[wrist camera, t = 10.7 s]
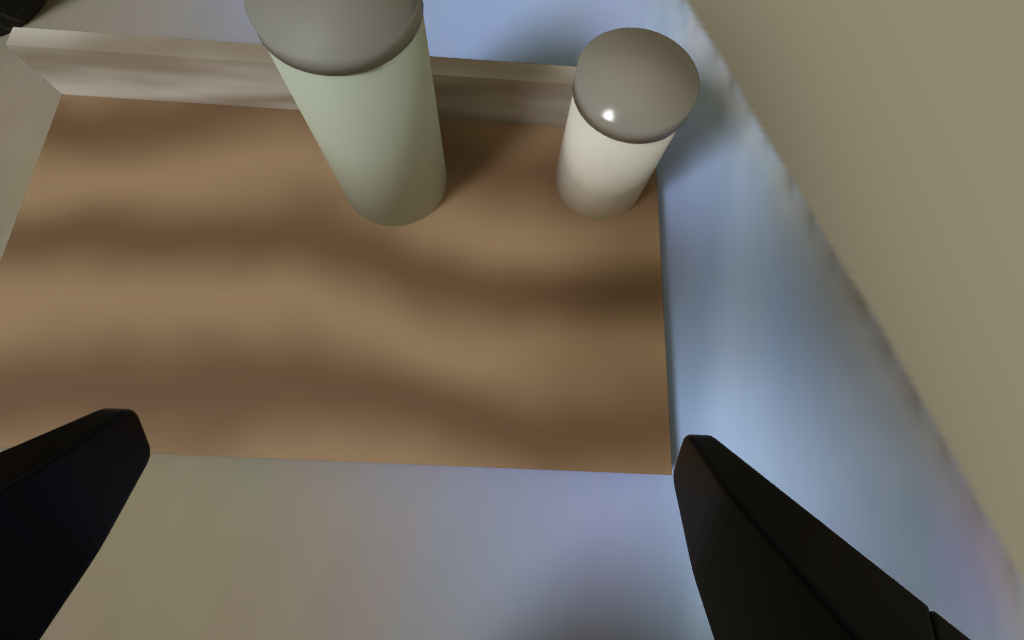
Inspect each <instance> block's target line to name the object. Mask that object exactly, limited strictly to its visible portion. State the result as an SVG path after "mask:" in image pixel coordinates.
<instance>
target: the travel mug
mask: <svg viewBox="0 0 1024 640" xmlns="http://www.w3.org/2000/svg"><path fill="white" fill-rule="evenodd" d="M44 2H45V0H0V36H1V35H4V34H6V33H8V32H10V31H12V28H13V27H20V26H21V25H23V24H24V23H26V22H27V21H28V20H29V19H31V18H32V17H33V16H34V15H35V14H36V13H37V12H38V11H39V10H40V8H41V7H42V5H43V4H44Z"/></svg>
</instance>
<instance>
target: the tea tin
mask: <svg viewBox="0 0 1024 640" xmlns="http://www.w3.org/2000/svg"><path fill="white" fill-rule="evenodd" d="M244 5H245V10H246V13H247V15H248V18H249V20H250V22H251V24H252V25H253V27H254V29H255V31H256V33H257V35H258V37H259V38H260V40H261V42H262V43H263V45H264V46H265V47H266V48H267V50H268V52H269V54H270V55H271V57H272V59H273V61H274V63H275V65H276V67H277V68H278V70H279V72H280V74H281V76H282V78H283V80H284V82H285V83H286V85H287V87H288V89H289V91H290V93H291V95H292V97H293V98H294V100H295V102H296V104H297V106H298V108H299V110H300V111H301V113H302V115H303V117H304V119H305V121H306V123H307V125H308V126H309V128H310V130H311V132H312V134H313V136H314V138H315V139H316V141H317V143H318V145H319V147H320V149H321V151H322V153H323V154H324V156H325V158H326V160H327V162H328V164H329V166H330V168H331V169H332V171H333V173H334V175H335V177H336V179H337V181H338V182H339V184H340V186H341V188H342V190H343V192H344V194H345V196H346V197H347V199H348V201H349V203H350V204H351V206H352V207H353V209H354V210H355V211H356V212H357V213H358V214H359V215H361V216H362V217H363V218H365V219H367V220H369V221H371V222H373V223H376V224H380V225H384V226H403V225H408V224H412V223H414V222H417V221H419V220H421V219H423V218H425V217H426V216H428V215H429V214H430V213H431V212H433V211H434V210H435V209H436V207H437V206H438V205H439V204H440V202H441V201H442V199H443V197H444V194H445V191H446V187H447V172H446V166H445V159H444V152H443V145H442V138H441V132H440V125H439V118H438V111H437V105H436V98H435V91H434V84H433V77H432V71H431V64H430V57H429V50H428V44H427V37H426V30H425V23H424V16H423V0H244Z"/></svg>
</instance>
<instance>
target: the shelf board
mask: <svg viewBox="0 0 1024 640" xmlns="http://www.w3.org/2000/svg"><path fill="white" fill-rule="evenodd" d="M6 46H8V47H9V48H10V49H11V50H12V51H13V52H14V53H16V54H17V55H18V56H19V57H20V58H21V59H22V60H24V61H25V62H26V63H27V64H28V65H29V66H31V67H32V68H33V69H34V70H35V71H36V72H37V73H39V74H40V75H41V76H42V77H43V78H44V79H45V80H47V81H48V82H49V83H50V84H51V85H52V86H53V87H55V88H56V89H57V90H58V91H59V92H60V93H62V97H61V99H60V102H59V105H58V108H57V110H56V113H55V116H54V118H53V121H52V124H51V127H50V129H49V132H48V135H47V137H46V140H45V143H44V146H43V148H42V151H41V154H40V156H39V159H38V162H37V164H36V167H35V170H34V173H33V175H32V178H31V181H30V183H29V186H28V189H27V192H26V194H25V197H24V200H23V202H22V205H21V208H20V211H19V213H18V216H17V219H16V221H15V224H14V227H13V230H12V232H11V235H10V238H9V240H8V243H7V246H6V248H5V251H4V254H3V257H2V259H1V262H0V447H14V446H16V445H19V444H21V443H23V442H25V441H28V440H30V439H32V438H35V437H37V436H39V435H42V434H44V433H46V432H49V431H51V430H53V429H56V428H58V427H60V426H63V425H65V424H67V423H70V422H72V421H74V420H77V419H79V418H81V417H83V416H86V415H88V414H90V413H93V412H95V411H97V410H100V409H104V408H123V409H131V410H133V411H134V412H136V413H137V415H138V417H139V419H140V422H141V424H142V427H143V429H144V432H145V435H146V437H147V440H148V442H149V445H150V453H157V454H182V455H206V456H230V457H254V458H278V459H302V460H326V461H350V462H374V463H398V464H422V465H446V466H470V467H494V468H518V469H542V470H566V471H590V472H614V473H638V474H662V475H672V464H671V444H670V425H669V406H668V386H667V367H666V348H665V328H664V309H663V290H662V270H661V251H660V231H659V212H658V193H657V173H656V168H655V170H654V171H653V173H652V175H651V177H650V179H649V180H648V182H647V184H646V186H645V187H644V189H643V191H642V193H641V194H640V196H639V198H638V200H637V202H636V203H635V204H634V206H633V207H632V208H631V209H630V210H628V211H627V212H626V213H624V214H622V215H620V216H618V217H615V218H611V219H591V218H587V217H584V216H582V215H580V214H578V213H576V212H574V211H573V210H571V209H570V208H569V207H568V206H567V205H566V204H565V203H564V202H563V201H562V199H561V198H560V196H559V194H558V192H557V190H556V186H555V178H554V177H555V170H556V165H557V161H558V157H559V152H560V148H561V144H562V139H563V135H564V131H565V126H566V122H567V118H568V113H569V109H570V105H571V100H572V96H573V90H572V88H573V80H574V75H575V71H576V67H573V66H559V65H545V64H531V63H517V62H502V61H488V60H474V59H460V58H446V57H432V56H429V57H430V64H431V71H432V77H433V84H434V91H435V98H436V105H437V111H438V118H439V125H440V132H441V138H442V145H443V152H444V159H445V166H446V172H447V187H446V191H445V194H444V197H443V199H442V201H441V202H440V204H439V205H438V206H437V207H436V209H435V210H434V211H433V212H431V213H430V214H429V215H428V216H426V217H425V218H423V219H421V220H419V221H417V222H414V223H412V224H408V225H403V226H384V225H380V224H376V223H373V222H371V221H369V220H367V219H365V218H363V217H362V216H361V215H359V214H358V213H357V212H356V211H355V210H354V209H353V207H352V206H351V204H350V203H349V201H348V199H347V197H346V196H345V194H344V192H343V190H342V188H341V186H340V184H339V182H338V181H337V179H336V177H335V175H334V173H333V171H332V169H331V168H330V166H329V164H328V162H327V160H326V158H325V156H324V154H323V153H322V151H321V149H320V147H319V145H318V143H317V141H316V139H315V138H314V136H313V134H312V132H311V130H310V128H309V126H308V125H307V123H306V121H305V119H304V117H303V115H302V113H301V111H300V110H299V108H298V106H297V104H296V102H295V100H294V98H293V97H292V95H291V93H290V91H289V89H288V87H287V85H286V83H285V82H284V80H283V78H282V76H281V74H280V72H279V70H278V68H277V67H276V65H275V63H274V61H273V59H272V57H271V55H270V54H269V52H268V50H267V48H266V47H265V46H264V45H261V44H247V43H233V42H219V41H205V40H190V39H176V38H162V37H148V36H134V35H119V34H105V33H91V32H77V31H63V30H49V29H34V28H20V27H13V28H12V31H11V33H10V35H9V38H8V40H7V43H6Z"/></svg>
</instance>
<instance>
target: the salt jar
mask: <svg viewBox="0 0 1024 640" xmlns="http://www.w3.org/2000/svg"><path fill="white" fill-rule="evenodd" d="M699 89H700V81H699V75H698V71H697V68H696V66H695V64H694V62H693V60H692V59H691V57H690V56H689V55H688V53H687V52H686V51H685V50H684V49H683V48H682V47H681V46H680V45H679V44H677V43H676V42H674V41H673V40H671V39H670V38H668V37H666V36H664V35H662V34H660V33H657V32H654V31H651V30H647V29H641V28H620V29H615V30H611V31H608V32H605V33H603V34H601V35H599V36H597V37H596V38H594V39H593V40H592V41H591V42H589V43H588V45H587V46H586V47H585V48H584V49H583V51H582V53H581V54H580V57H579V59H578V62H577V66H576V71H575V75H574V80H573V88H572V90H573V96H572V100H571V105H570V109H569V113H568V118H567V122H566V126H565V131H564V135H563V139H562V144H561V148H560V152H559V157H558V161H557V165H556V170H555V177H554V178H555V186H556V190H557V192H558V194H559V196H560V198H561V199H562V201H563V202H564V203H565V204H566V205H567V206H568V207H569V208H570V209H571V210H573V211H574V212H576V213H578V214H580V215H582V216H584V217H587V218H591V219H611V218H615V217H618V216H620V215H622V214H624V213H626V212H627V211H628V210H630V209H631V208H632V207H633V206H634V204H635V203H636V202H637V200H638V198H639V196H640V194H641V193H642V191H643V189H644V187H645V186H646V184H647V182H648V180H649V179H650V177H651V175H652V173H653V171H654V170H655V168H656V166H657V164H658V163H659V161H660V159H661V157H662V156H663V154H664V152H665V150H666V148H667V147H668V145H669V143H670V141H671V140H672V138H673V136H674V134H675V133H676V131H677V130H678V129H679V128H680V127H681V126H682V125H683V123H684V122H685V120H686V119H687V117H688V115H689V113H690V112H691V110H692V108H693V106H694V104H695V103H696V101H697V98H698V95H699Z"/></svg>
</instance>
